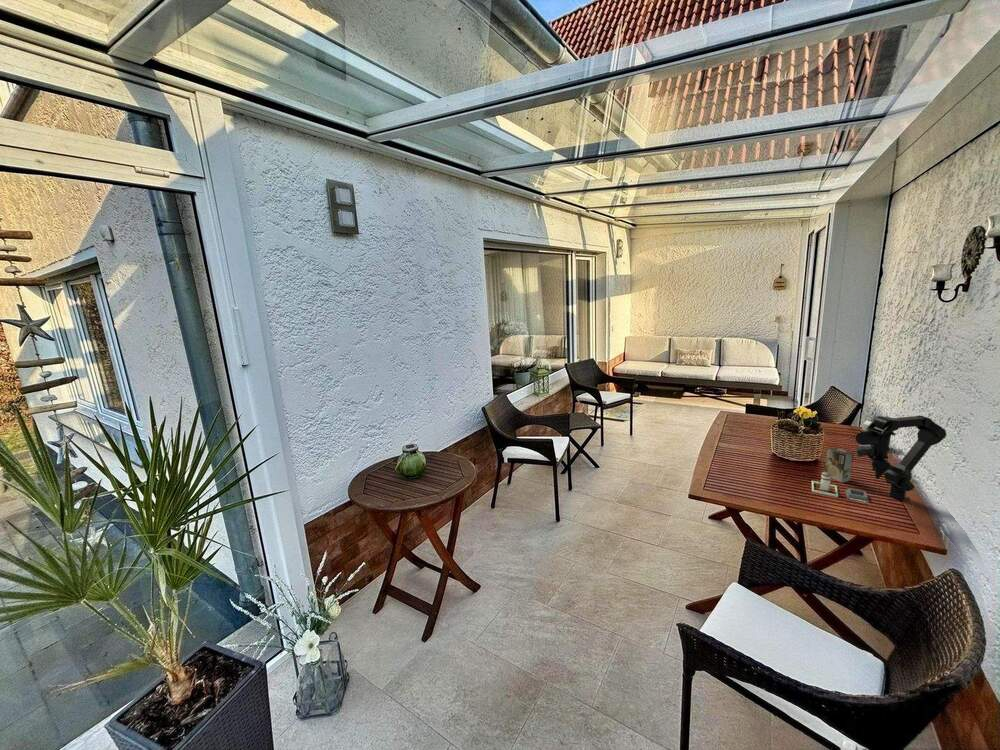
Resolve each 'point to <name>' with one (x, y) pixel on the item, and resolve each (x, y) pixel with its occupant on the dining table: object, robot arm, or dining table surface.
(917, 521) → the dining table surface
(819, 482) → the pale green rectangular frame
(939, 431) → the robot arm
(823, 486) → the banded cream cylinder
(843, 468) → the coffee box
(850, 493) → the socket block
